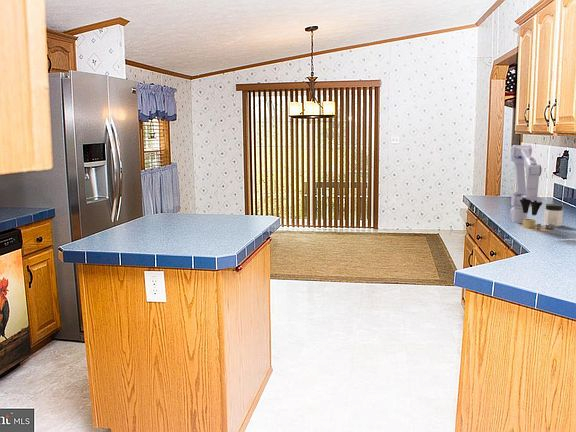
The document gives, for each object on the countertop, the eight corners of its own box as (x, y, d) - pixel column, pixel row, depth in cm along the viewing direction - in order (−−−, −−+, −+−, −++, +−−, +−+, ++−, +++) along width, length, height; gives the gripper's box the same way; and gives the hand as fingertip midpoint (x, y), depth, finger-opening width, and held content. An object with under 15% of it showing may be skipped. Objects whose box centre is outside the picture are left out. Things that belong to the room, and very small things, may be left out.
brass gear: (521, 226, 285) (522, 219, 284) (530, 226, 286) (530, 218, 285) (527, 228, 280) (527, 220, 279) (535, 228, 281) (536, 220, 280)
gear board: (517, 227, 287) (518, 220, 287) (539, 226, 289) (540, 219, 289) (536, 233, 272) (536, 225, 271) (559, 232, 274) (560, 225, 273)
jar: (542, 227, 289) (544, 205, 287) (543, 224, 296) (545, 203, 294) (561, 228, 285) (563, 206, 283) (561, 226, 292) (564, 204, 290)
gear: (542, 228, 279) (543, 222, 279) (551, 228, 280) (551, 222, 279) (548, 230, 274) (549, 224, 274) (557, 230, 275) (557, 224, 275)
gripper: (516, 186, 286) (514, 211, 288) (533, 189, 272) (531, 216, 274) (528, 186, 287) (526, 211, 289) (546, 189, 273) (543, 216, 275)
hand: (529, 214), depth 282 cm, fingers open, 7 cm apart
